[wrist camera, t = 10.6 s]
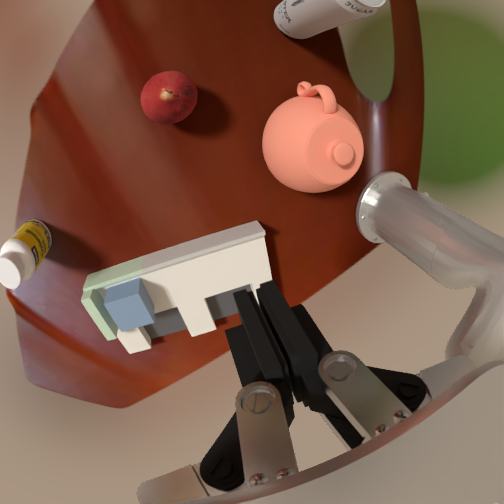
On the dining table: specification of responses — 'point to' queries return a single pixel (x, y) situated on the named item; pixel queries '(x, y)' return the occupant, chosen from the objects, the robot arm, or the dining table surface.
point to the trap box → (185, 284)
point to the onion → (169, 97)
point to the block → (129, 305)
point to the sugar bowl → (312, 141)
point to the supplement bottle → (23, 253)
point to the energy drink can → (320, 15)
